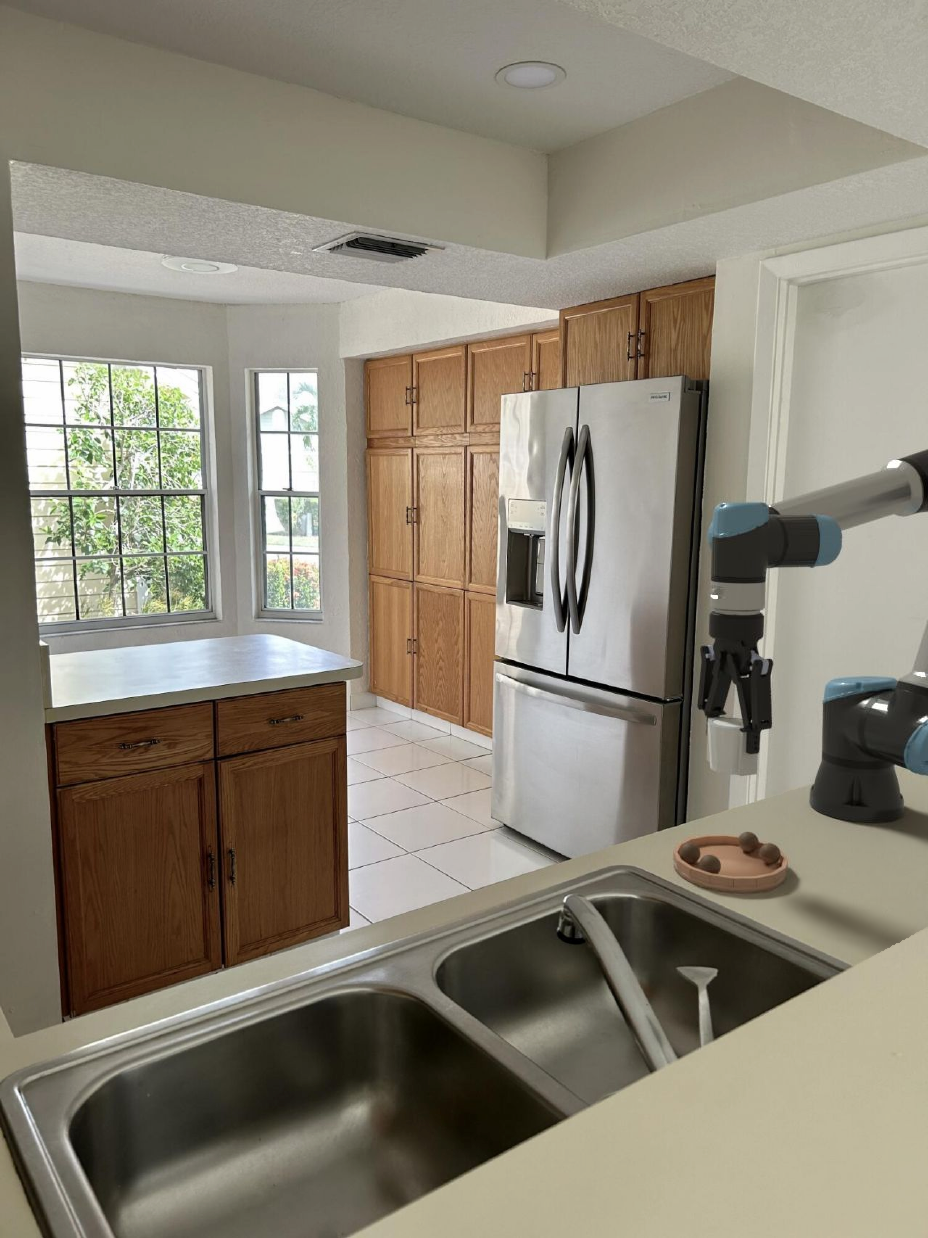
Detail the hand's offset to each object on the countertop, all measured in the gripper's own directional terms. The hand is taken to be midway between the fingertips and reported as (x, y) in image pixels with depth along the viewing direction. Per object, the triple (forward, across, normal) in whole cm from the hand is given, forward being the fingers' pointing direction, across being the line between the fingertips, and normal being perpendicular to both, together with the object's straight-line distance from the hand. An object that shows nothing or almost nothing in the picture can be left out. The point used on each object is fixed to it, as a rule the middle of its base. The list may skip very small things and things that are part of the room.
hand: (731, 766), depth 133 cm
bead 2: (+13, +3, -5) cm, 14 cm away
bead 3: (+13, -2, +5) cm, 14 cm away
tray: (+16, 0, 0) cm, 16 cm away
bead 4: (+13, +3, +5) cm, 14 cm away
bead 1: (+13, -2, -5) cm, 14 cm away
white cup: (+1, 0, 0) cm, 1 cm away
